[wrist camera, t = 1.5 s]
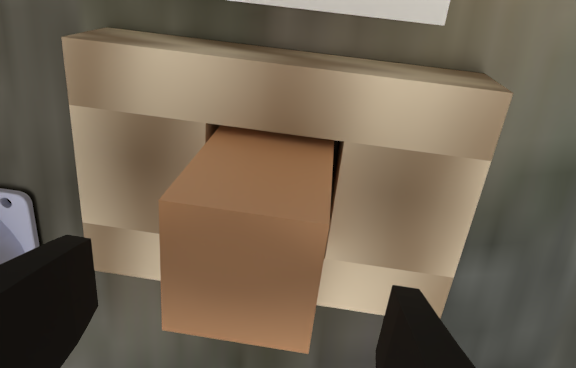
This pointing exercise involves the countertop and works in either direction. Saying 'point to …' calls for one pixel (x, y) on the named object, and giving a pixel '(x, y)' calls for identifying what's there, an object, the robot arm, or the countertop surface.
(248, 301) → the plug
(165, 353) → the countertop surface
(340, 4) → the mat
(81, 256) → the robot arm
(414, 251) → the beige holed block
